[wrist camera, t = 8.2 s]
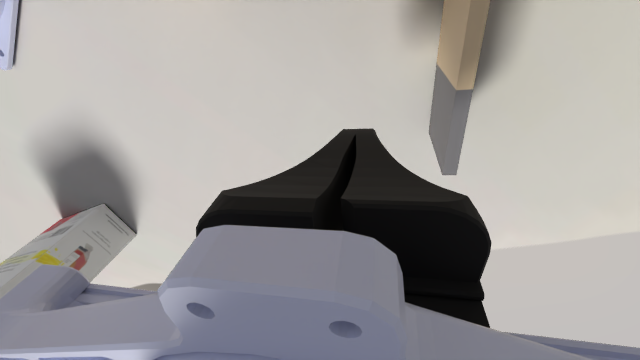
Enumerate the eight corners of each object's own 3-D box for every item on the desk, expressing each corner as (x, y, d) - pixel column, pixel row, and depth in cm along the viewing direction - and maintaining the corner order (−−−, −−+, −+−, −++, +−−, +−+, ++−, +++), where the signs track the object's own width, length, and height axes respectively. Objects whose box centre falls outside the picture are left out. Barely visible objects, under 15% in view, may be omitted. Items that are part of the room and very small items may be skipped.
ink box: (95, 246, 33) (-21, 351, 23) (60, 217, 31) (-84, 320, 21) (140, 235, 30) (27, 351, 20) (105, 202, 27) (-41, 316, 18)
